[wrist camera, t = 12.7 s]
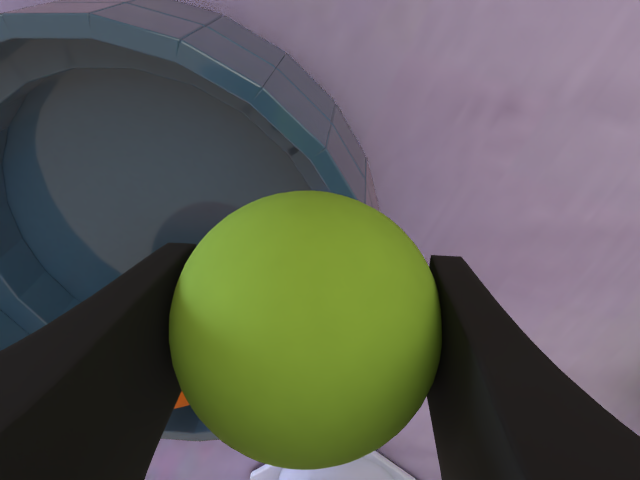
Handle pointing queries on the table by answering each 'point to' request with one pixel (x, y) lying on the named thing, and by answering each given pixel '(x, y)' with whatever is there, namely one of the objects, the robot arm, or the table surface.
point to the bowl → (144, 146)
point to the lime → (305, 330)
